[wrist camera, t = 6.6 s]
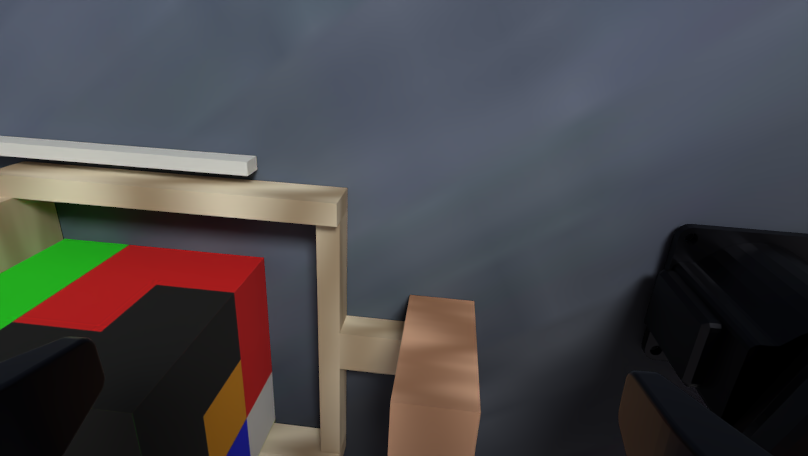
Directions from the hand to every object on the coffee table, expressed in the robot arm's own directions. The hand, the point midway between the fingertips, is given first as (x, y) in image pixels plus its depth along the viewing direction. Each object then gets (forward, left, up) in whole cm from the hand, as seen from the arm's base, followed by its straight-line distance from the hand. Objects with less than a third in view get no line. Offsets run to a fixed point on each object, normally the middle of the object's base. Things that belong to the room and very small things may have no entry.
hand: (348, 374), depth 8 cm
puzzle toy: (+12, +10, -13) cm, 20 cm away
